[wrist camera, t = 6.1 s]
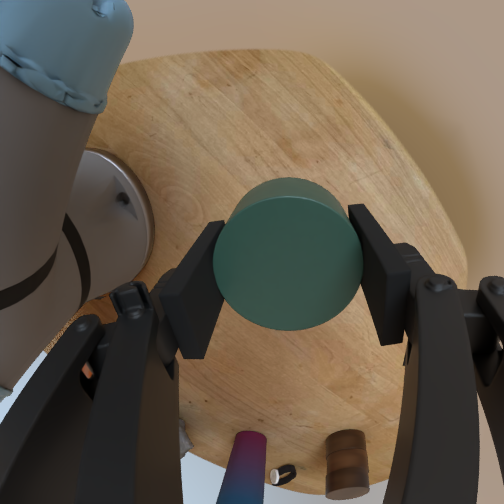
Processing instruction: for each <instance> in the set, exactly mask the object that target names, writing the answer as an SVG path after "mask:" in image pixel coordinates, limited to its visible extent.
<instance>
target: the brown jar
mask: <svg viewBox="0 0 504 504" xmlns="http://www.w3.org/2000/svg"><path fill="white" fill-rule="evenodd" d="M326 460H327V475H326V494H325V495H326V498H328V499H332V500H346V499H353V498H357V497H360V496H363V495H365V494H367V493H368V492H369V490H370V488H369V476H368V473H369V467H368V457H367V451H366V442H365V435H364V433H363V432H362V431H359V430H342V431H338V432H335V433H333V434H331V435H330V436H328V437H327V439H326Z"/></svg>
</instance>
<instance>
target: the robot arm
mask: <svg viewBox="0 0 504 504" xmlns="http://www.w3.org/2000/svg"><path fill="white" fill-rule="evenodd" d="M133 27H134V25H133V16H132V13H131V10H130V8H129V6H128V5H127V3H126V2H125V1H124V0H0V402H1V401H2V400H3V399H4V398H5V397H6V396H10V395H11V394H12V392H13V387H14V386H15V385H16V383H17V382H18V381H19V379H20V378H21V377H22V376H23V374H24V373H25V372H26V370H27V369H28V368H29V367H30V366H31V364H32V363H33V362H34V361H35V359H36V358H37V357H38V356H39V355H40V353H41V352H42V351H43V350H44V349H45V347H46V346H47V345H48V344H49V343H50V342H51V340H52V339H53V338H54V337H55V336H56V335H57V333H58V332H59V331H60V330H61V329H62V328H63V327H64V325H65V324H66V323H67V322H68V321H69V320H70V319H71V318H72V316H73V315H74V314H75V313H76V312H77V311H78V310H79V309H80V308H81V307H82V306H83V305H84V303H86V302H88V301H90V300H92V299H102V298H104V297H99V296H101V295H103V294H105V293H108V292H111V293H110V295H109V296H110V299H111V301H112V303H113V306H114V308H115V310H116V312H117V314H118V318H117V321H116V322H113V323H108V324H104V325H102V323H101V321H100V319H99V317H98V316H97V315H94V314H90V315H83V316H81V317H79V318H78V319H77V320H75V321H74V322H73V323H72V324H71V325H70V326H69V327H68V328H67V330H66V331H65V332H64V334H63V335H62V336H61V337H60V339H59V340H58V341H57V343H56V344H55V345H54V347H53V348H52V349H51V351H50V352H49V353H48V355H47V356H46V357H45V359H44V360H43V361H42V363H41V364H40V366H39V367H38V368H37V370H36V371H35V372H34V374H33V375H32V377H31V378H30V380H29V381H28V382H27V384H26V386H25V387H24V388H23V390H22V391H21V393H20V394H19V396H18V397H17V399H16V400H15V402H14V403H13V405H12V406H11V408H10V410H9V411H8V413H7V414H6V416H5V417H4V419H3V421H2V422H1V424H0V504H183V493H182V480H181V462H180V438H179V365H178V362H177V359H176V357H175V354H176V352H177V350H178V348H179V349H180V351H181V354H182V356H183V358H184V359H204V356H205V354H206V351H207V348H208V345H209V342H210V339H211V336H212V333H213V331H214V328H215V325H216V322H217V319H218V316H219V313H220V310H221V308H222V305H223V302H224V297H223V296H222V294H221V292H220V290H219V288H218V286H217V283H216V279H215V275H214V271H213V253H214V248H215V245H216V242H217V239H218V237H219V235H220V233H221V231H222V229H223V228H224V226H225V222H224V220H221V221H214V222H209V223H208V225H207V226H206V227H205V229H204V230H203V232H202V233H201V234H200V236H199V237H198V239H197V240H196V241H195V243H194V244H193V246H192V247H191V248H190V250H189V251H188V253H187V254H186V255H185V257H184V258H183V260H182V261H181V262H180V264H179V265H178V267H177V268H174V269H170V270H169V271H168V272H166V273H165V274H163V275H162V277H161V278H160V279H159V281H158V283H156V285H155V286H154V289H152V290H151V292H150V293H149V292H148V289H147V287H146V284H145V283H144V282H143V281H132V280H133V279H134V278H135V277H136V275H137V274H138V273H139V272H140V271H141V270H142V269H143V267H144V266H145V264H146V263H147V261H148V259H149V257H150V254H151V251H152V247H153V242H154V219H153V213H152V209H151V205H150V202H149V199H148V196H147V194H146V192H145V190H144V188H143V186H142V184H141V182H140V181H139V179H138V178H137V176H136V175H135V174H134V173H133V171H132V170H131V169H130V168H129V167H128V166H127V165H126V164H125V163H124V162H123V161H121V160H120V159H119V158H117V157H116V156H114V155H112V154H110V153H109V152H106V151H103V150H100V149H95V148H85V147H86V144H87V141H88V138H89V136H90V133H91V130H92V128H93V125H94V123H95V120H96V118H97V115H98V114H99V113H102V112H103V111H104V109H105V107H106V105H107V92H108V89H109V87H110V84H111V82H112V80H113V77H114V75H115V73H116V70H117V68H118V66H119V64H120V62H121V59H122V57H123V55H124V53H125V51H126V49H127V47H128V45H129V43H130V40H131V37H132V34H133ZM348 213H349V220H350V222H351V224H352V226H353V228H354V230H355V232H356V234H357V236H358V238H359V241H360V243H361V246H362V250H363V276H362V280H361V283H360V284H361V286H362V289H363V292H364V295H365V298H366V301H367V304H368V307H369V310H370V313H371V316H372V319H373V322H374V325H375V328H376V331H377V335H378V338H379V341H380V345H381V346H385V345H391V344H398V343H402V342H403V336H404V329H405V332H406V334H407V337H408V342H407V348H406V353H405V358H404V362H403V366H405V376H404V387H403V397H402V406H401V414H400V421H399V428H398V435H397V441H396V446H395V452H394V457H393V462H392V467H391V472H390V476H389V481H388V485H387V489H386V493H385V496H384V500H383V504H476V502H477V492H478V478H479V451H480V450H479V449H480V446H479V445H480V444H479V443H480V441H479V414H478V400H477V393H478V395H479V398H480V401H481V404H482V407H483V410H484V413H485V416H486V419H487V422H488V425H489V428H490V431H491V435H492V438H493V442H494V445H495V449H496V453H497V457H498V461H499V465H500V469H501V474H502V478H503V484H504V278H503V277H498V276H488V277H485V278H483V279H482V280H481V281H480V284H479V289H478V290H462V289H457V285H456V284H455V282H454V281H453V280H452V279H451V278H449V277H447V276H444V275H441V274H435V272H434V271H433V270H432V268H431V267H430V266H429V265H428V263H427V262H426V261H425V260H424V258H423V257H422V256H421V255H420V253H419V252H418V251H417V249H416V248H415V247H413V246H411V245H409V244H408V243H398V244H393V243H392V241H391V240H390V239H389V237H388V236H387V235H386V233H385V232H384V230H383V229H382V228H381V226H380V225H379V224H378V222H377V221H376V220H375V218H374V217H373V216H372V214H371V213H370V212H369V210H368V209H367V208H366V207H365V205H364V204H354V205H348ZM130 281H131V282H130ZM500 340H501V342H502V345H503V349H502V348H501V346H500V344H499V342H500ZM85 363H86V365H87V366H88V368H89V370H90V371H91V373H92V375H91V377H90V378H89V379H88V378H87V377H86V375H85V374H84V372H83V371H82V368H83V367H84V365H85Z"/></svg>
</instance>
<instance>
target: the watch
mask: <svg viewBox="0 0 504 504" xmlns="http://www.w3.org/2000/svg"><path fill="white" fill-rule="evenodd" d="M287 472H291V473H290V474H289V475H288V476H286V477H284V478H281V479H279V477H280V475H282V474H284V473H287ZM296 474H297V473H296V470H295V466H293V465H285V466H282V467H280V468H279V469H277V470H276V469H273V470H272V471H271V474H270V480H271V483H272V485H273V486H279V485H283V484H286V483H288V482H290V481H291V480H292V479H294V478H295V477H296Z"/></svg>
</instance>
